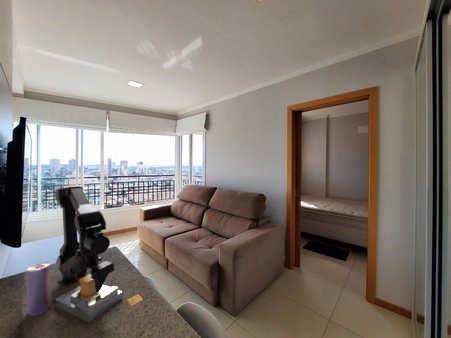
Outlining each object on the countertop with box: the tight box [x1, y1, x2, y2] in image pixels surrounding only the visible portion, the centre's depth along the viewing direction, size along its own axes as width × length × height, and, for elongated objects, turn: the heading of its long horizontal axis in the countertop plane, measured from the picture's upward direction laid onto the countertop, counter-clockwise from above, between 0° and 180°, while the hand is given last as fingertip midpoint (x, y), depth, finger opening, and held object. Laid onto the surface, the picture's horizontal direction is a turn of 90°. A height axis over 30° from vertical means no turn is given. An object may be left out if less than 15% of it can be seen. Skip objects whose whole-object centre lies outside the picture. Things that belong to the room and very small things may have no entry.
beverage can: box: [25, 262, 52, 317], centre depth 66 cm, size 6×6×15 cm
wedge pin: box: [79, 273, 96, 298], centre depth 70 cm, size 5×5×9 cm
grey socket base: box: [54, 284, 123, 323], centre depth 70 cm, size 18×12×4 cm, turn 68°
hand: (89, 288), depth 70 cm, fingers open, 9 cm apart
